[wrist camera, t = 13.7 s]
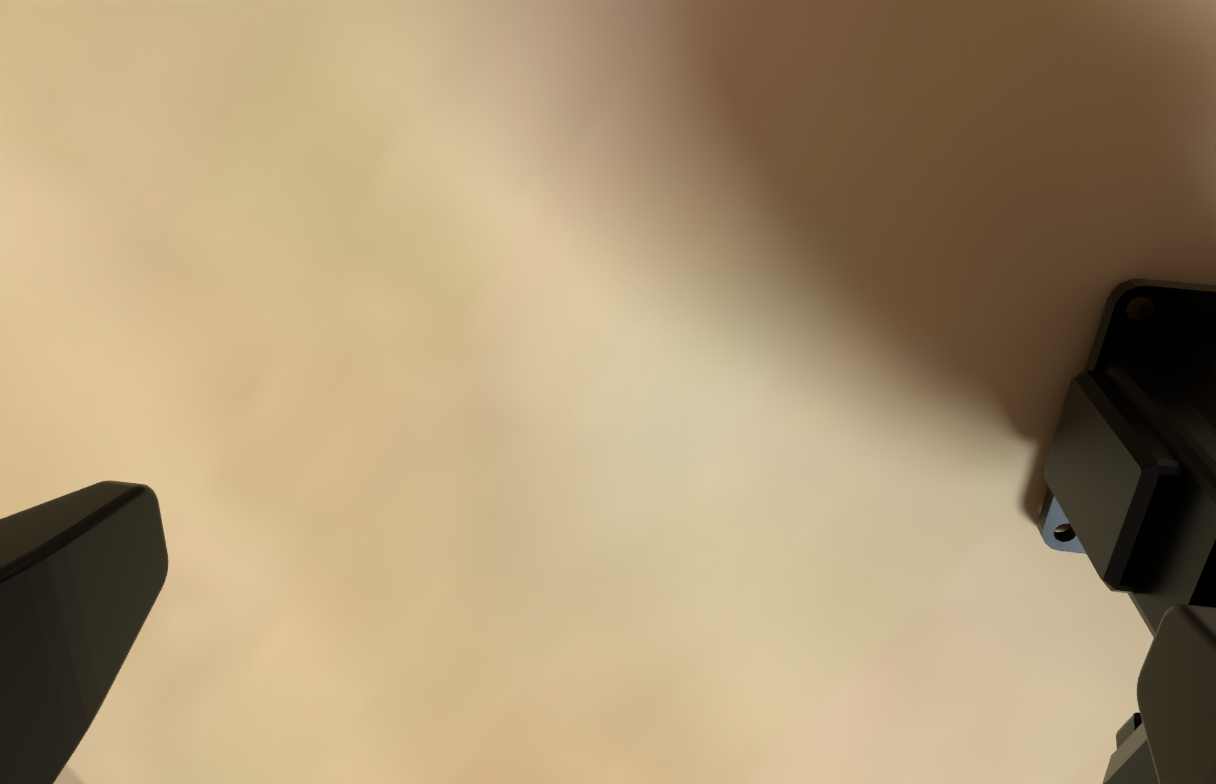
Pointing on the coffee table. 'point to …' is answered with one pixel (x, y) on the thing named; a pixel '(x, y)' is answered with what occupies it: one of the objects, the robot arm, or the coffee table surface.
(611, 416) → the coffee table surface
